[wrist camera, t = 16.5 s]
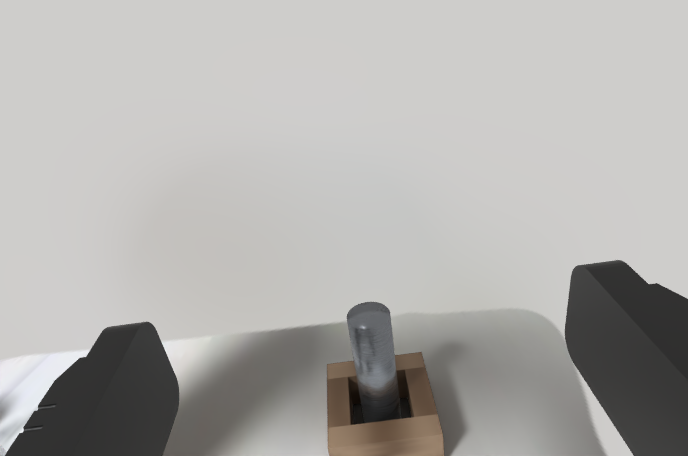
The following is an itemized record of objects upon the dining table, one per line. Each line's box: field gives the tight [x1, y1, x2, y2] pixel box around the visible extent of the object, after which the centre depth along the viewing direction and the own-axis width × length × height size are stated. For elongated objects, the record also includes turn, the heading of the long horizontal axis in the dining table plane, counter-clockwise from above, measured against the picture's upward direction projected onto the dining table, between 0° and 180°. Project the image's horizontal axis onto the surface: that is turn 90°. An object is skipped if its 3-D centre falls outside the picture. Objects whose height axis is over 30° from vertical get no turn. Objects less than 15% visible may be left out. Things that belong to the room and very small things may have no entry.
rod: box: [347, 302, 402, 423], centre depth 37 cm, size 3×3×12 cm
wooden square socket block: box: [327, 352, 444, 456], centre depth 39 cm, size 9×9×4 cm
